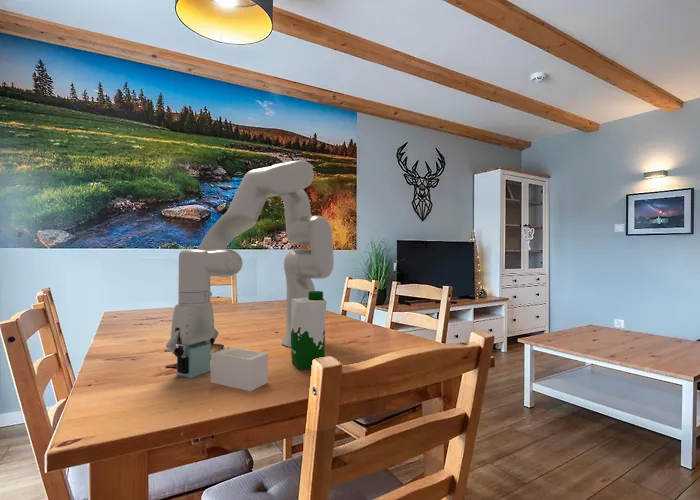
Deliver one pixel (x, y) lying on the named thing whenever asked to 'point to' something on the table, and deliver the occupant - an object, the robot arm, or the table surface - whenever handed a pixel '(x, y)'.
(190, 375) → the stub
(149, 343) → the table surface
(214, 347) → the parchment
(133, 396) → the table surface
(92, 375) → the table surface
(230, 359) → the block
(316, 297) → the milk carton
